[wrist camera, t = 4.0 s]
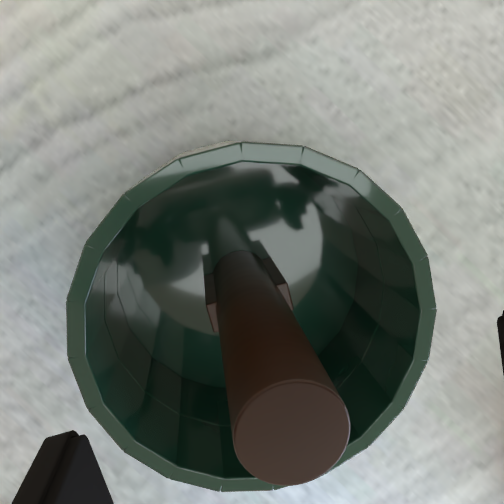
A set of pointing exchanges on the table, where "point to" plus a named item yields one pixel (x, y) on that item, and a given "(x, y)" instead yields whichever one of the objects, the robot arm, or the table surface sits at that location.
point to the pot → (195, 312)
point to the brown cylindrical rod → (272, 375)
